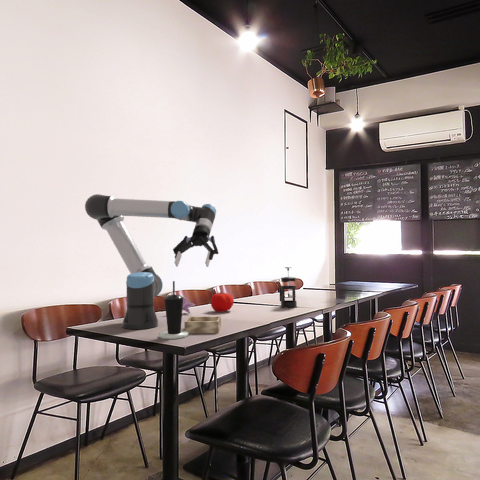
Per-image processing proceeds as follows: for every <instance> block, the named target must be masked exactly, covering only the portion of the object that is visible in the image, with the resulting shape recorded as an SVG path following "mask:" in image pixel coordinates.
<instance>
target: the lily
mask: <svg viewBox="0 0 480 480" xmlns="http://www.w3.org/2000/svg"><path fill="white" fill-rule="evenodd" d="M195 306H196V304H195V303H193V302H189V301H188V298H187V297H186V296H185V297H184V299H183V308H182V312H183V311H185V312H186V313H189V314H191V312H190V309H189V308H191V307H195Z"/></svg>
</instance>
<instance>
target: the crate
mask: <svg viewBox="0 0 480 480" xmlns="http://www.w3.org/2000/svg"><path fill="white" fill-rule="evenodd" d="M221 328H222V316H219V315H218V316H217V315H216V316H214V315H213V316H210V315H209V316H206V315H205V316H189V317H188V318H187V319H186V320H185V321H184V331H187V332H188V334H219V332H220V330H221Z"/></svg>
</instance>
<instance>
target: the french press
mask: <svg viewBox="0 0 480 480" xmlns="http://www.w3.org/2000/svg"><path fill="white" fill-rule="evenodd" d="M284 269H286V270H287V276H284V277H280V280H281V283H287V285H279V302H280V308H282V309H296V308H298V305H297V304H298V303H297V302H298V301H297V300H296V289H297V286H296V285H290V284H289V283H290V282H296V279H297V277H293V276H289V271H290V269H292V267H291V266H290V267H289V266H287V267H284ZM285 290H288V291H287V295H286V293H285V292H286V291H285ZM290 290H291V291H292V294H290ZM285 298H286V299H287V300H285ZM288 298H289V299H290V298H291V299H292V300H291V299H290V300H288Z"/></svg>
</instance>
